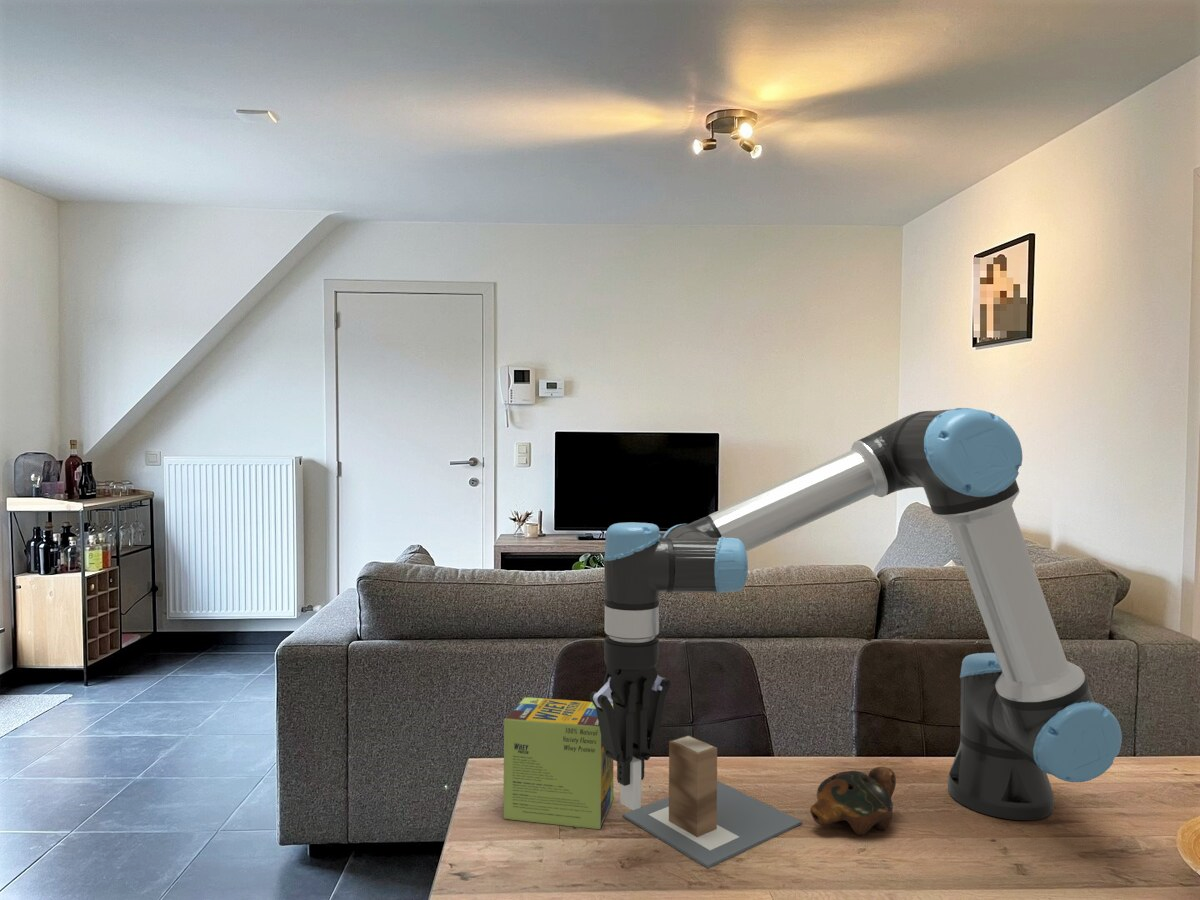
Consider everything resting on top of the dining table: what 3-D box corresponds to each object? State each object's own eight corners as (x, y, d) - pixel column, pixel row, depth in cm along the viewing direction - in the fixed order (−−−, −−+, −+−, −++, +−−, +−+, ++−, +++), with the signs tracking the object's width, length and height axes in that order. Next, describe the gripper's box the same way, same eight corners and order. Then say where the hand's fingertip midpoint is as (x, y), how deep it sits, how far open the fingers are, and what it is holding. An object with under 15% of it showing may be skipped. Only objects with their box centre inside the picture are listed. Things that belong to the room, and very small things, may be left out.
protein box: (602, 830, 116) (602, 726, 116) (502, 820, 119) (502, 718, 119) (615, 798, 126) (615, 702, 126) (522, 789, 129) (522, 695, 129)
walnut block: (716, 829, 116) (717, 747, 115) (697, 837, 113) (697, 753, 113) (688, 813, 120) (688, 734, 120) (668, 821, 118) (669, 740, 118)
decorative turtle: (916, 826, 118) (917, 775, 117) (843, 859, 110) (843, 804, 110) (865, 796, 126) (865, 748, 125) (794, 825, 119) (794, 774, 118)
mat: (802, 823, 118) (802, 820, 118) (707, 868, 106) (707, 865, 106) (714, 781, 132) (714, 779, 132) (622, 816, 120) (622, 813, 120)
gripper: (649, 623, 116) (648, 783, 116) (577, 637, 108) (576, 808, 108) (684, 633, 110) (683, 801, 110) (611, 649, 102) (610, 830, 102)
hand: (630, 804), depth 109 cm, fingers closed
